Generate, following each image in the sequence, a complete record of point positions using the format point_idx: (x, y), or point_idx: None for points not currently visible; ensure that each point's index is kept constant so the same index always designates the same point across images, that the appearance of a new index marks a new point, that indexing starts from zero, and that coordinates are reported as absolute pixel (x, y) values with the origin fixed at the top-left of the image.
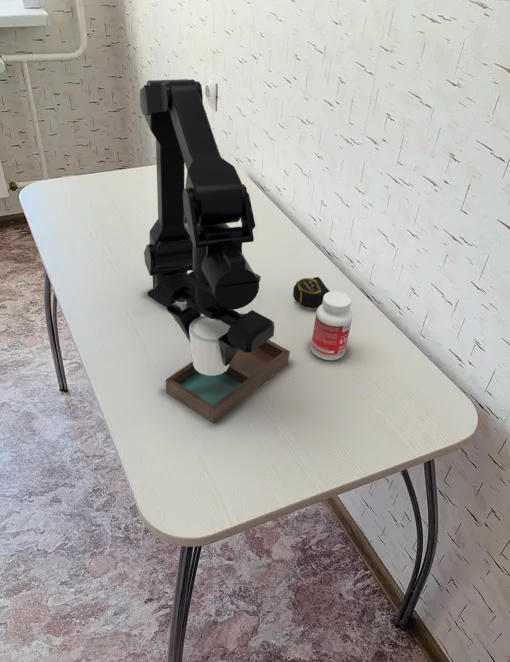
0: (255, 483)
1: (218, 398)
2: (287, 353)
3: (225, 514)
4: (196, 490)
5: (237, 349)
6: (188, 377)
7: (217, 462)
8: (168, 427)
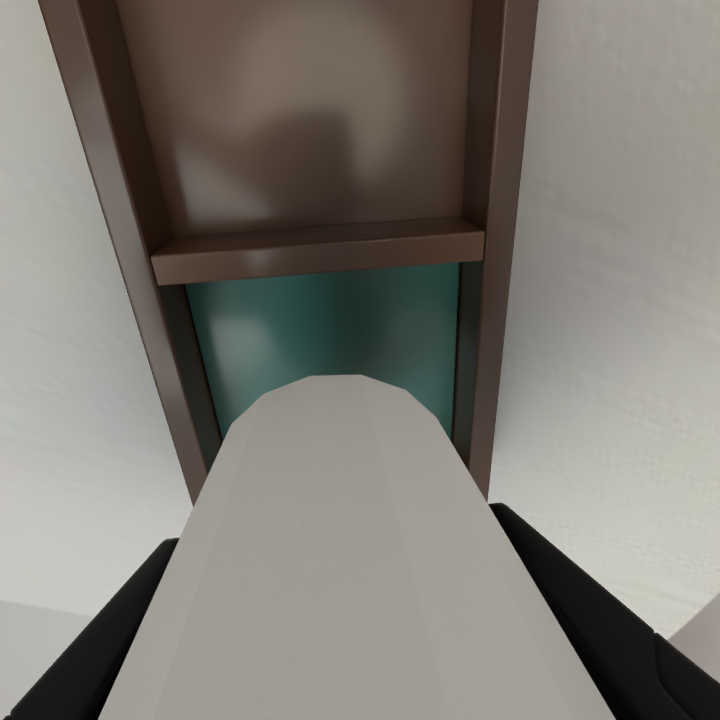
0: (709, 513)
1: None
2: None
3: (677, 602)
4: None
5: (632, 614)
6: (211, 406)
7: (575, 538)
8: None
